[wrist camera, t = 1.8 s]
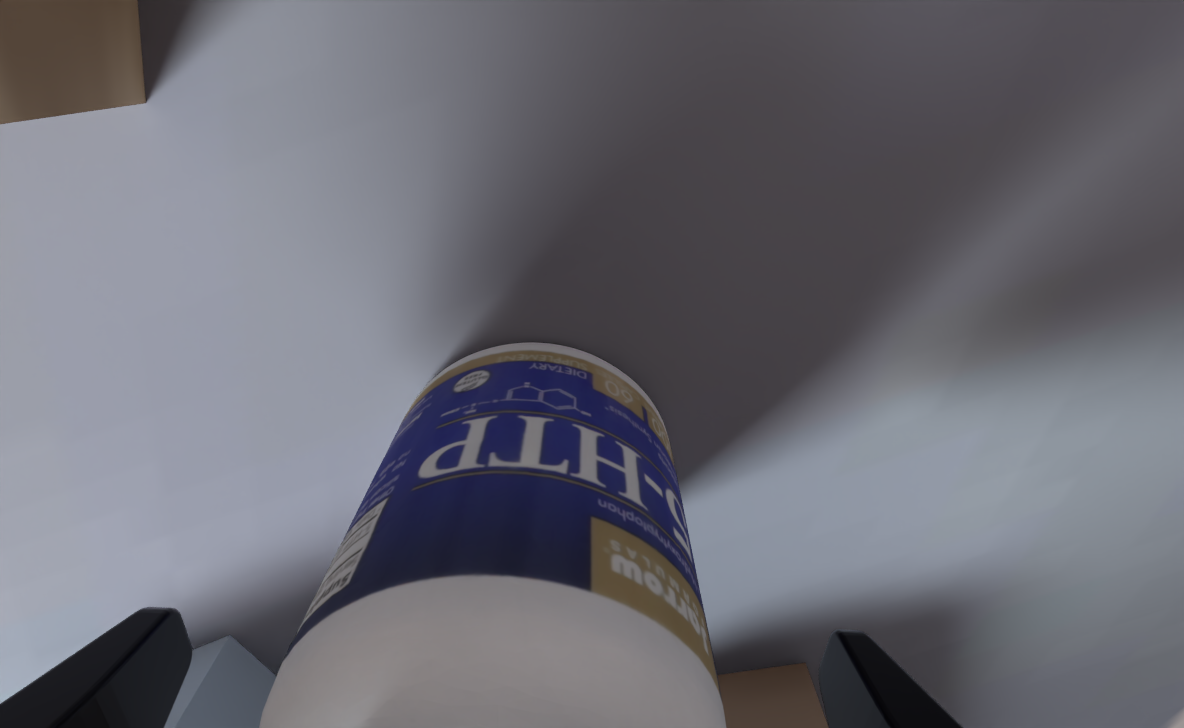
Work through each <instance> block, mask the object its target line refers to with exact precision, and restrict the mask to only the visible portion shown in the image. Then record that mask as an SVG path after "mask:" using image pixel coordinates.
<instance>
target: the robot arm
mask: <svg viewBox="0 0 1184 728" xmlns="http://www.w3.org/2000/svg"><path fill="white" fill-rule="evenodd" d="M191 660H192V646H191V643H190V640H189V637H188V634H187V631H186V628H185V625H184V623H183V620H182V617H181V614H180V612H179V611H177V610H176V609H175V608H162V607H147V608H143V609H141V610H139V611H137V612H135V613H134V614H132V615H131V616H129V617H128V618H126V619H125V620H123V621H122V622H120V623H119V624H117V625H116V626H114V627H113V628H111V629H110V630H109V631H107V632H106V633H104V634H103V635H101V636H100V637H98V638H97V639H95V640H94V641H92V642H91V643H89V644H88V645H86V646H85V647H83V648H82V649H81V650H79V651H78V652H76V653H75V654H73V655H72V656H70V657H69V658H67V659H66V660H64V661H63V662H61V663H60V664H58V665H57V666H55V667H54V668H52V669H51V670H50V671H48V672H47V673H45V674H44V675H42V676H41V677H39V678H38V679H36V680H35V681H33V682H32V683H30V684H29V685H27V686H26V687H24V688H23V689H22V690H20V691H19V692H17V693H16V694H14V695H13V696H11V697H10V698H8V699H7V700H5V701H4V702H2V703H1V704H0V728H164V727H165V724H166V722H167V720H168V717H169V715H170V712H171V710H172V708H173V705H174V703H175V701H176V698H177V696H178V693H179V691H180V689H181V686H182V684H183V681H184V679H185V677H186V674H187V672H188V670H189V667H190V664H191ZM819 684H820V689H821V694H822V698H823V703H824V707H825V712H826V716H827V721H828V725H829V728H963V727H962V726H961V725H960V724H959V723H958V722H957V721H956V720H955V719H954V718H953V717H952V716H951V715H950V714H949V713H948V712H947V711H946V710H945V709H943V708H942V707H941V706H940V705H939V704H938V703H937V702H936V701H935V700H934V699H933V698H932V697H931V696H930V695H929V694H928V693H927V692H926V691H925V690H924V689H923V688H922V687H921V686H920V685H919V684H918V683H917V682H916V681H915V680H914V679H913V678H912V677H911V676H910V675H909V674H908V673H907V672H906V671H905V670H904V669H902V668H901V667H900V666H899V665H898V664H897V663H896V662H895V661H894V660H893V659H892V658H891V657H890V656H889V655H888V654H887V653H886V652H885V651H884V650H883V649H882V648H881V647H880V646H879V645H878V644H877V643H876V642H875V641H874V640H873V639H872V638H871V637H870V636H868V635H867V634H866V633H864V632H862V631H859V630H835V631H834V632H832V633H831V635H830V638H829V641H828V644H827V646H826V649H825V652H824V655H823V658H822V661H821V664H820V667H819Z"/></svg>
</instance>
